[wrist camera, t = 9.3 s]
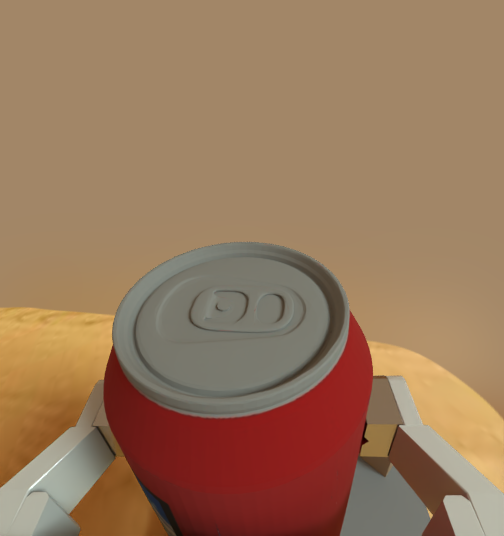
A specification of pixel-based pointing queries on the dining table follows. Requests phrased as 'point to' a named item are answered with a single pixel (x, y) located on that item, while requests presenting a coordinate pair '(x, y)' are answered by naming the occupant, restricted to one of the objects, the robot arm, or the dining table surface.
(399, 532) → the v stop plate
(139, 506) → the dining table surface
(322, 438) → the beverage can
